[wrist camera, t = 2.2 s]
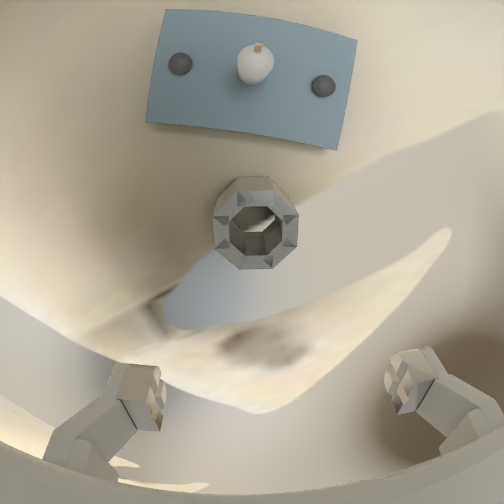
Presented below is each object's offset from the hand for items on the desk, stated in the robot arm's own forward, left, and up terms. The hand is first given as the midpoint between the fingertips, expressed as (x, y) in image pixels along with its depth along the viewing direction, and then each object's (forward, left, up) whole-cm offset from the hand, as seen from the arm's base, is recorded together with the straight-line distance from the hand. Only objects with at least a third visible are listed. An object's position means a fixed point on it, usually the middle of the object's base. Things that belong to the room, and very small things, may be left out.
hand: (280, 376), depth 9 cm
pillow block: (-2, +11, -17) cm, 21 cm away
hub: (0, 0, -17) cm, 17 cm away
